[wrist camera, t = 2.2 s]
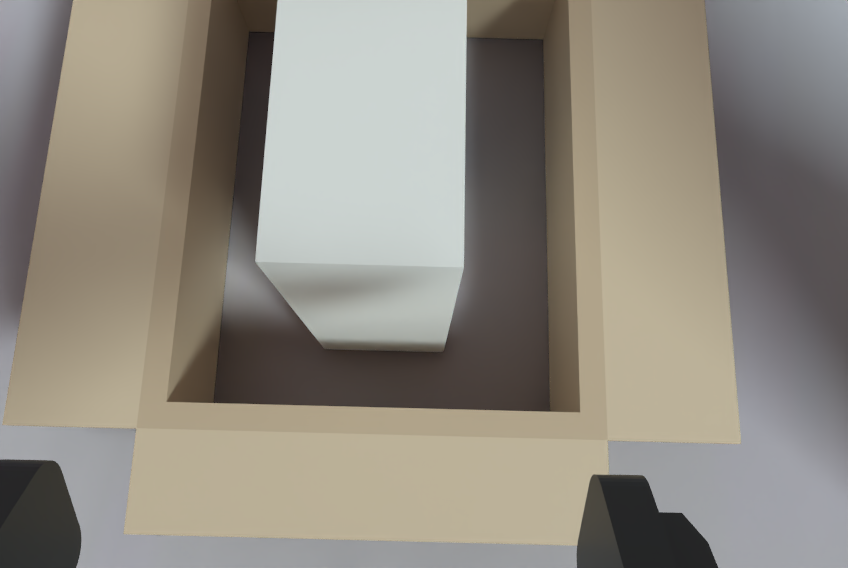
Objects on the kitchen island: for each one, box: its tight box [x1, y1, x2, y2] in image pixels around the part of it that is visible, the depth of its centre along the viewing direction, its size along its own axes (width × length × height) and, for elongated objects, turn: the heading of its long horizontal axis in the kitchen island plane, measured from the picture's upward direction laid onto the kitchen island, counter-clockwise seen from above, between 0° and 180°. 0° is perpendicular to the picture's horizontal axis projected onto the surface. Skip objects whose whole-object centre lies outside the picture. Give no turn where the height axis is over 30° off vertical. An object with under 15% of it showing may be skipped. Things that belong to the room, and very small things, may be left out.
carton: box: [2, 0, 741, 546], centre depth 26 cm, size 22×24×5 cm
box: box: [255, 0, 467, 352], centre depth 23 cm, size 4×11×12 cm, turn 179°
